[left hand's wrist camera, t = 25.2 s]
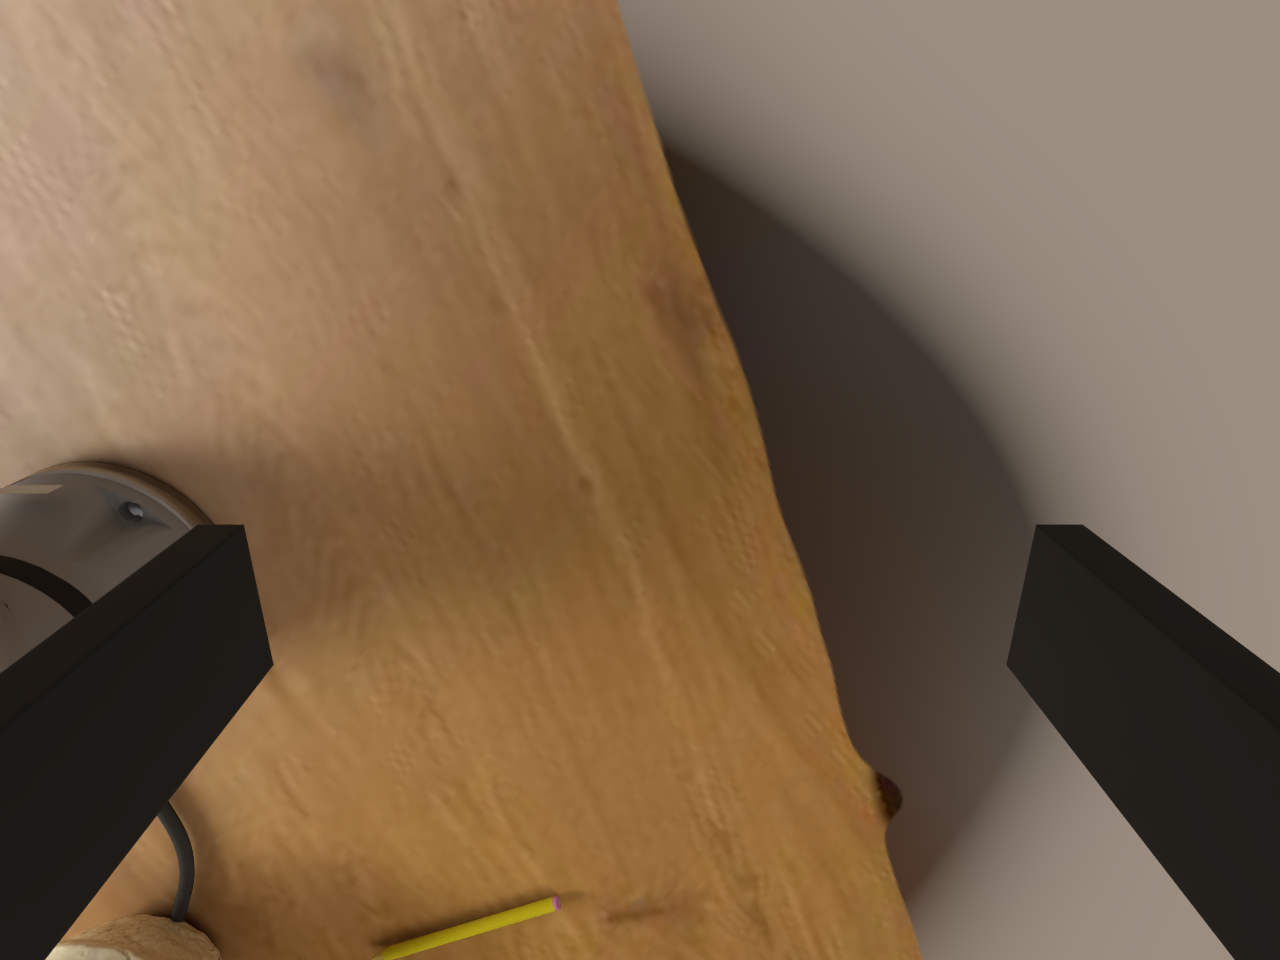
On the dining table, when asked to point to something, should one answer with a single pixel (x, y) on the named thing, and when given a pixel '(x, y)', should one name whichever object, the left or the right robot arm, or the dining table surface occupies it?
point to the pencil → (469, 929)
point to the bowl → (138, 941)
